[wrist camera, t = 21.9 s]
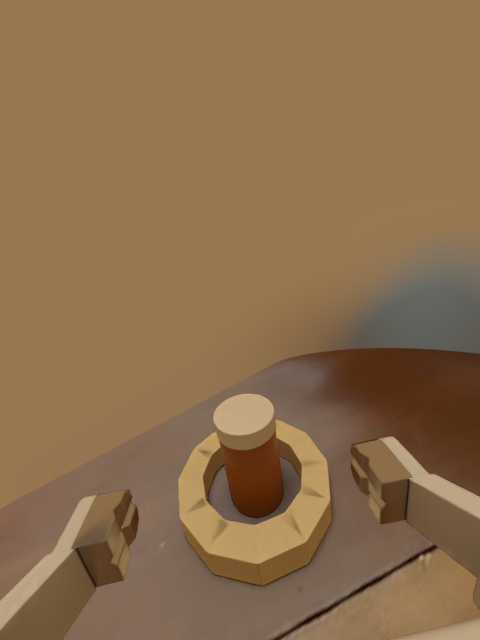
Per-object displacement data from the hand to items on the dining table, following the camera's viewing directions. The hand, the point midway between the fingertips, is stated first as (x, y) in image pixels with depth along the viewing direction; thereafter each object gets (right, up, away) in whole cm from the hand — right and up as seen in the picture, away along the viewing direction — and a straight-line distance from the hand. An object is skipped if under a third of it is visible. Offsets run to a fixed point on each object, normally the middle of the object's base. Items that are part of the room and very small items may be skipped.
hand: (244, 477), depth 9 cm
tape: (+1, -11, +15) cm, 18 cm away
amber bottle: (+1, -11, +15) cm, 18 cm away
